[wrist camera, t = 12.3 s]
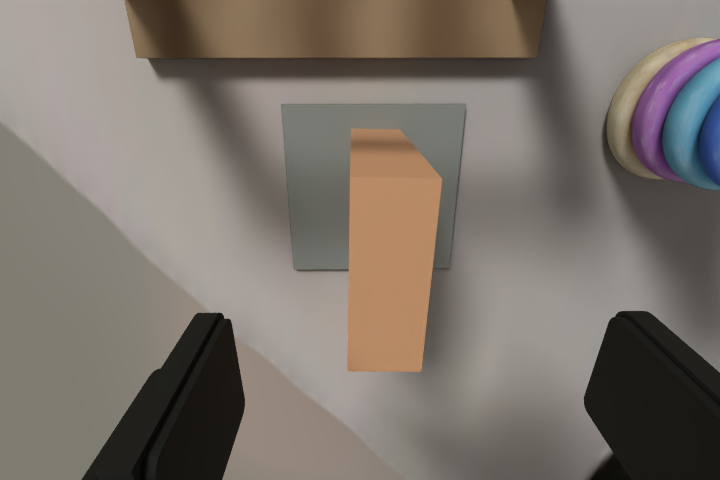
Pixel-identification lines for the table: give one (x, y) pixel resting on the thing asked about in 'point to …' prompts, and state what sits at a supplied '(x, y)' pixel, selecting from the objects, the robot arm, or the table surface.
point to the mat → (332, 171)
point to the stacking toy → (670, 115)
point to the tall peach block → (389, 250)
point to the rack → (336, 28)
